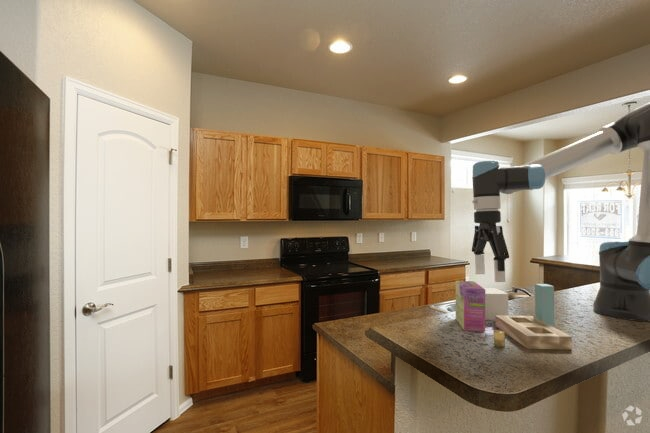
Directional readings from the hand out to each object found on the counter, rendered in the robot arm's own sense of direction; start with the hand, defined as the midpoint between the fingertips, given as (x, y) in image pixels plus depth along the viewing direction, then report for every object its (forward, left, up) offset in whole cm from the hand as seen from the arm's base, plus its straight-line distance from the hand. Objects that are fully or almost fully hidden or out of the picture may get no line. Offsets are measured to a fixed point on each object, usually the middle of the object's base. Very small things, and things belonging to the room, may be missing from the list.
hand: (489, 277), depth 99 cm
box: (+9, +8, -12) cm, 18 cm away
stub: (+8, +24, -12) cm, 28 cm away
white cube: (0, 0, -12) cm, 12 cm away
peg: (-11, +10, -12) cm, 19 cm away
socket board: (-3, +17, -12) cm, 21 cm away
